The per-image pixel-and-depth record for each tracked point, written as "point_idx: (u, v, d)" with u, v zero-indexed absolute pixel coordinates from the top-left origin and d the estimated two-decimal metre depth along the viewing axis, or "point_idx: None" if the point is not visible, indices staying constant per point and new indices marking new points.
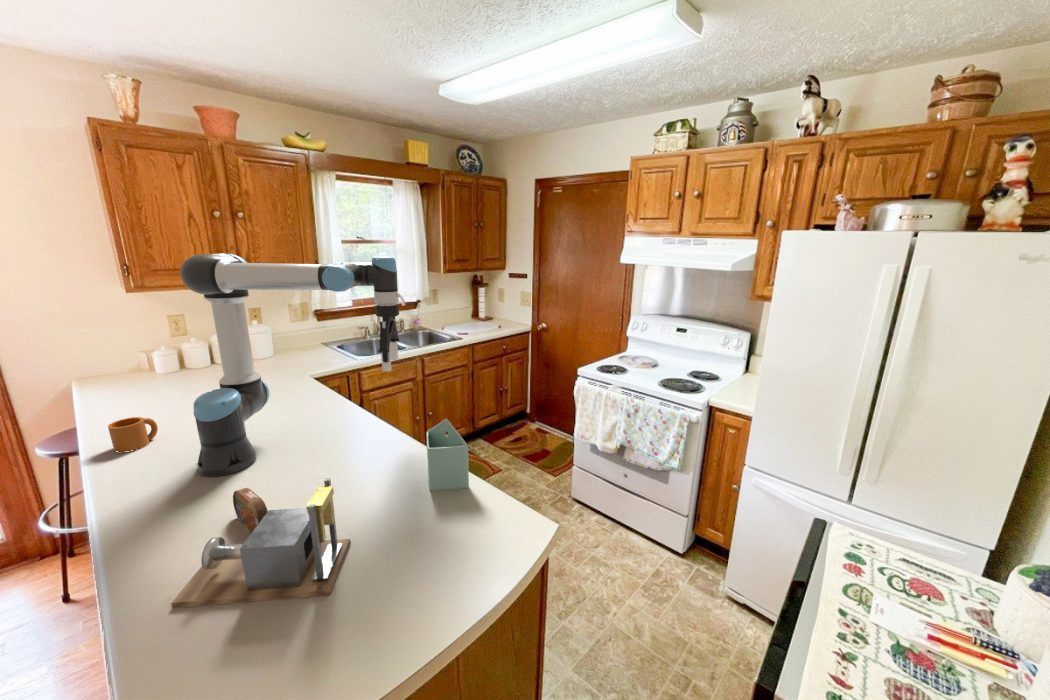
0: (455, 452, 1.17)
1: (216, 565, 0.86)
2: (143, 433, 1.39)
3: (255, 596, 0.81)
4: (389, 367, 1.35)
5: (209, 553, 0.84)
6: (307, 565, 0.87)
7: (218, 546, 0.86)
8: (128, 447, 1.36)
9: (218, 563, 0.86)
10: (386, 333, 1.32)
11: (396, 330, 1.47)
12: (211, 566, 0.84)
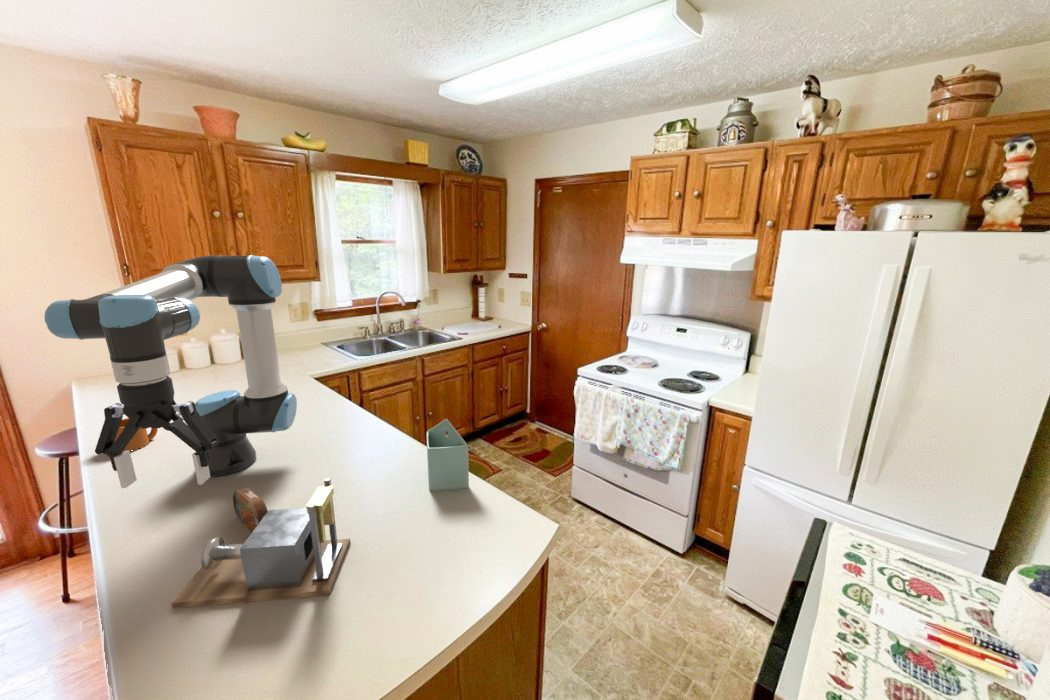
0: (455, 452, 1.17)
1: (216, 565, 0.86)
2: (143, 433, 1.39)
3: (255, 596, 0.81)
4: None
5: (209, 553, 0.84)
6: (307, 565, 0.87)
7: (218, 546, 0.86)
8: (128, 447, 1.36)
9: (218, 563, 0.86)
10: None
11: (196, 434, 0.78)
12: (211, 566, 0.84)
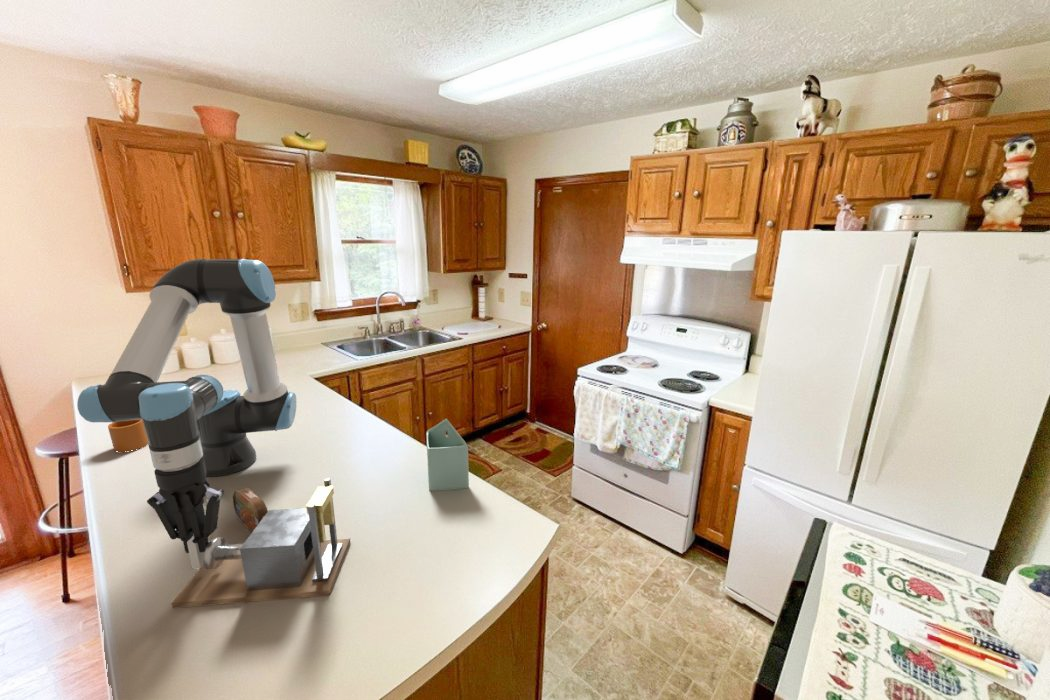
0: (455, 452, 1.17)
1: (218, 565, 0.86)
2: (143, 433, 1.39)
3: (255, 596, 0.81)
4: None
5: (211, 553, 0.84)
6: (307, 565, 0.87)
7: (220, 546, 0.86)
8: (128, 447, 1.36)
9: (220, 562, 0.86)
10: None
11: (206, 520, 0.83)
12: (213, 566, 0.84)
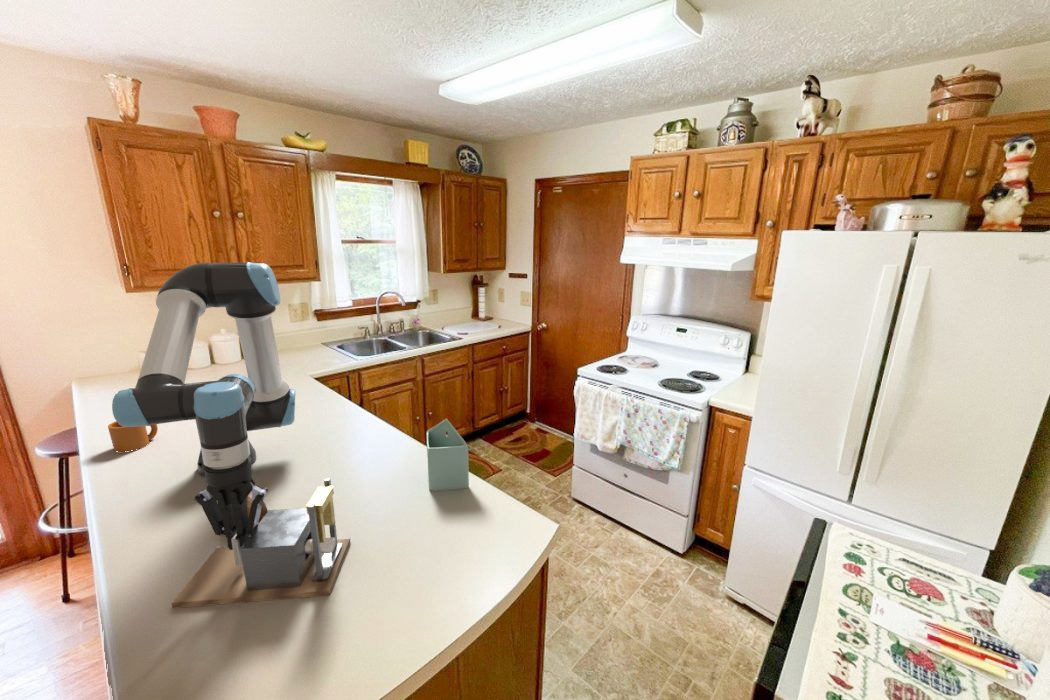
0: (455, 452, 1.17)
1: None
2: (143, 433, 1.39)
3: (255, 596, 0.81)
4: None
5: None
6: (307, 565, 0.87)
7: None
8: (128, 447, 1.36)
9: None
10: None
11: (249, 518, 0.84)
12: None
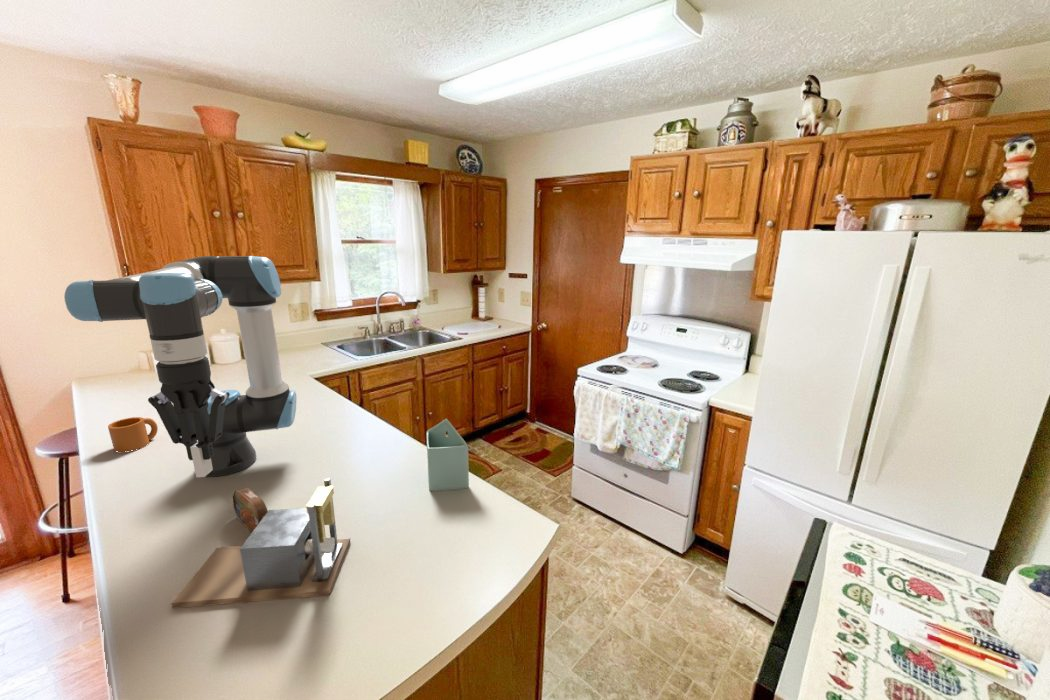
0: (455, 452, 1.17)
1: None
2: (143, 433, 1.39)
3: (255, 596, 0.81)
4: None
5: None
6: (307, 565, 0.87)
7: None
8: (128, 447, 1.36)
9: None
10: None
11: (210, 423, 0.78)
12: None
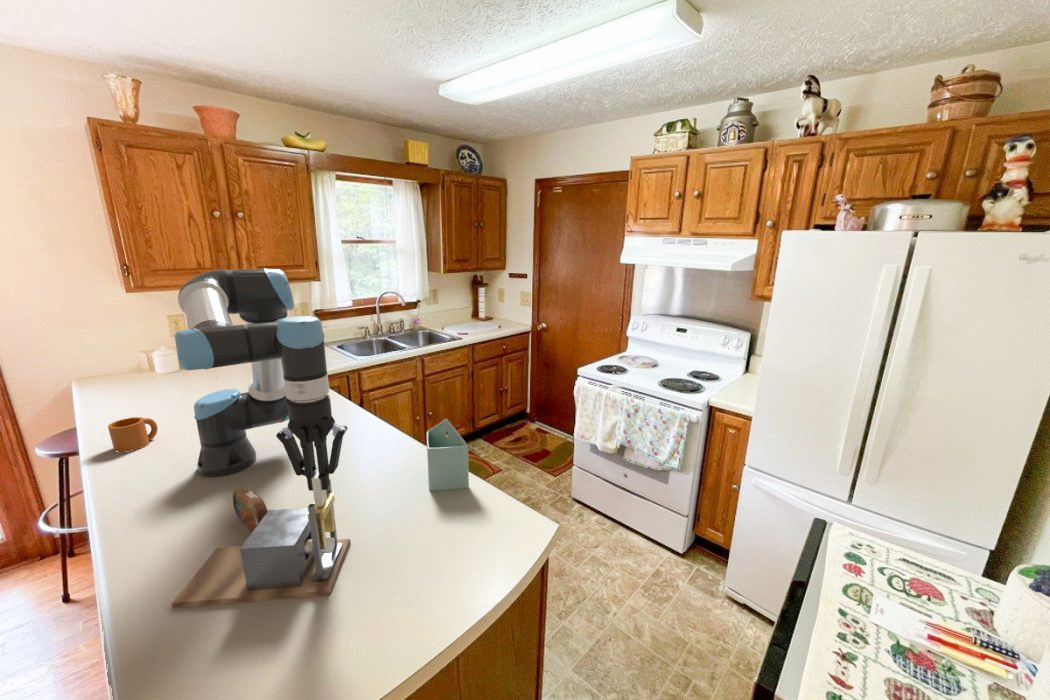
0: (455, 452, 1.17)
1: None
2: (143, 433, 1.39)
3: (255, 596, 0.81)
4: None
5: None
6: (307, 565, 0.87)
7: None
8: (128, 447, 1.36)
9: None
10: None
11: (331, 456, 0.82)
12: None
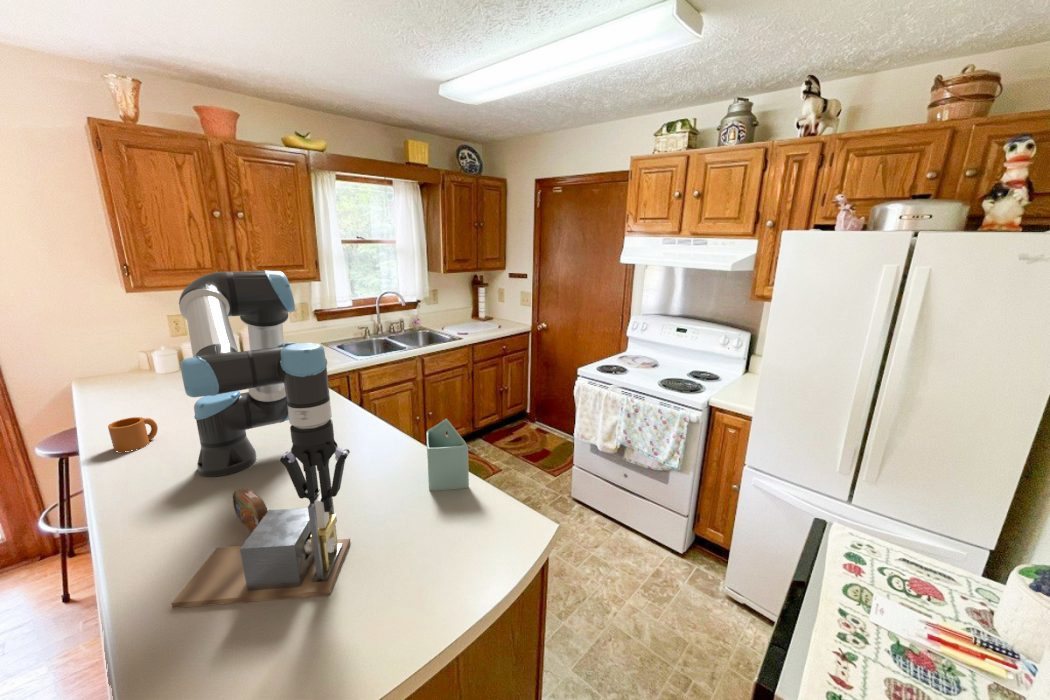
0: (455, 452, 1.17)
1: None
2: (143, 433, 1.39)
3: (255, 596, 0.81)
4: None
5: None
6: (307, 565, 0.87)
7: None
8: (128, 447, 1.36)
9: None
10: None
11: (334, 480, 0.84)
12: None
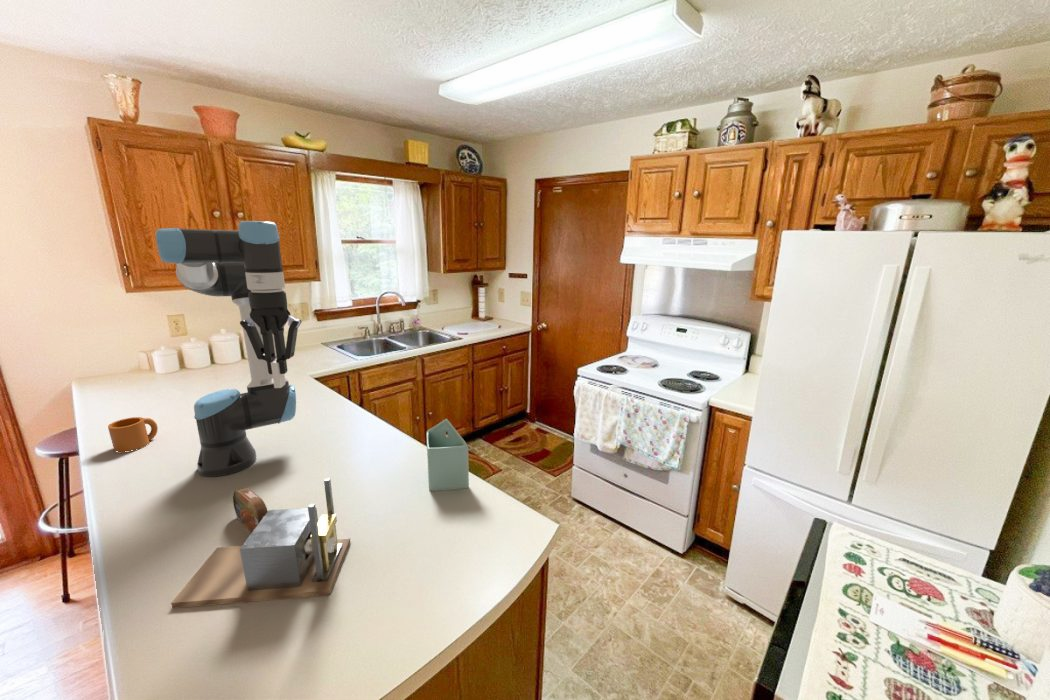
0: (455, 452, 1.17)
1: None
2: (143, 433, 1.39)
3: (255, 596, 0.81)
4: None
5: None
6: (307, 565, 0.87)
7: None
8: (128, 447, 1.36)
9: None
10: None
11: (287, 343, 0.98)
12: None
